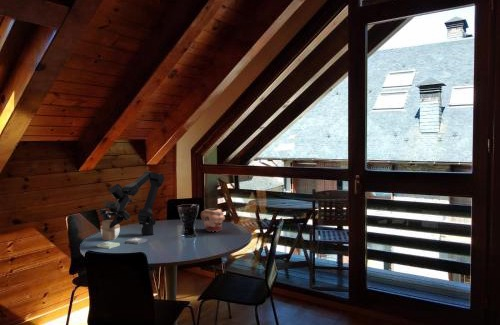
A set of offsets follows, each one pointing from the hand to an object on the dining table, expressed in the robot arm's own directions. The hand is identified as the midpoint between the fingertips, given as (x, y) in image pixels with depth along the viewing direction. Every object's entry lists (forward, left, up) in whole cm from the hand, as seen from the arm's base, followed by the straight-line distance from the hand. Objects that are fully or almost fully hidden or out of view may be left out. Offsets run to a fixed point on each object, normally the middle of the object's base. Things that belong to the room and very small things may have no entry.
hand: (106, 227), depth 211 cm
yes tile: (-1, -1, -10) cm, 11 cm away
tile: (-16, -3, -10) cm, 20 cm away
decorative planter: (-65, -10, -11) cm, 67 cm away
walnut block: (-1, -1, -7) cm, 7 cm away
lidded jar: (-5, -19, -11) cm, 22 cm away
